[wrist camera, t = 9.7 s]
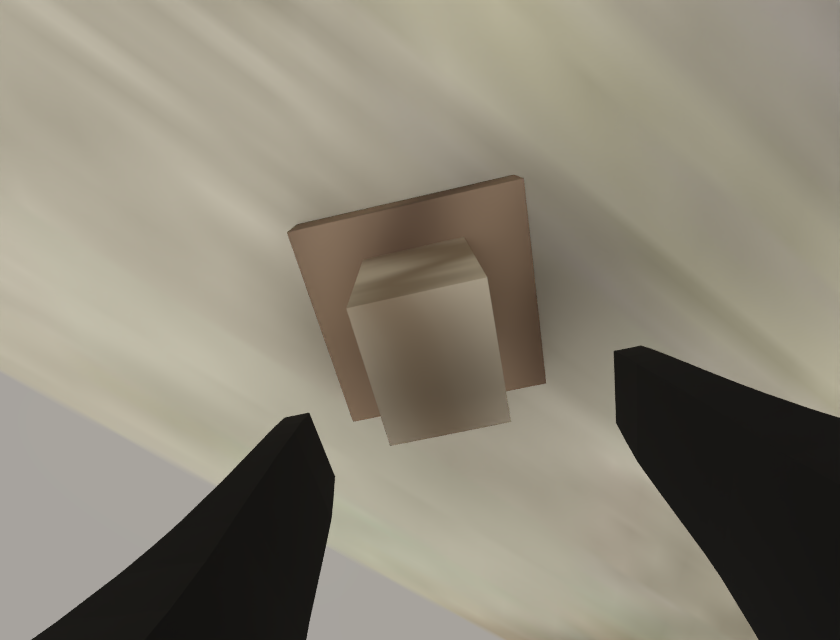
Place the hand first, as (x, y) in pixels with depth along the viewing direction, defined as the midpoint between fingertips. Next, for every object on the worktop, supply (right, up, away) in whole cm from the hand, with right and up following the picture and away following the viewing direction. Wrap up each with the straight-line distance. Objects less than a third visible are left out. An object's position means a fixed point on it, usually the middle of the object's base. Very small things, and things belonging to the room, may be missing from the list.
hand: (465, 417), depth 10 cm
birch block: (-1, +3, +7) cm, 8 cm away
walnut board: (-1, +3, +9) cm, 9 cm away
